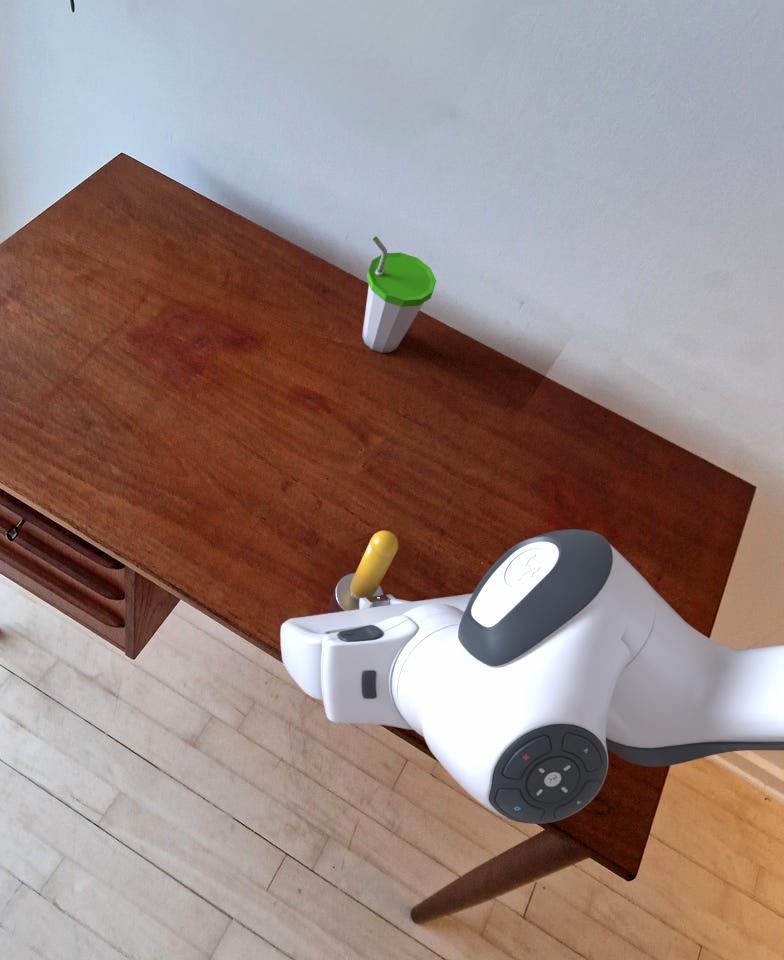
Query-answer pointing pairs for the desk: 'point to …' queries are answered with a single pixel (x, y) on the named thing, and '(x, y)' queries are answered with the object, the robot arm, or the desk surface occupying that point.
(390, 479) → the desk surface
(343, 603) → the yellow lever knob
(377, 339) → the cup
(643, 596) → the robot arm
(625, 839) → the desk surface
